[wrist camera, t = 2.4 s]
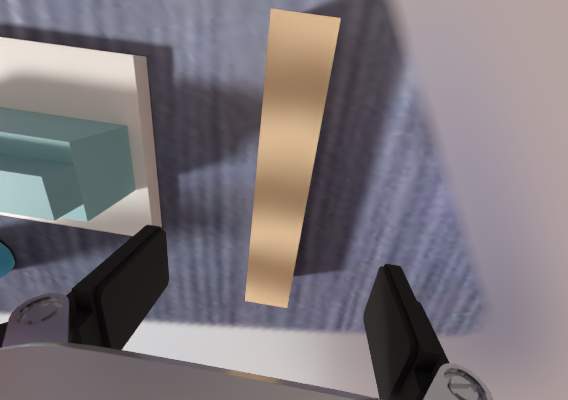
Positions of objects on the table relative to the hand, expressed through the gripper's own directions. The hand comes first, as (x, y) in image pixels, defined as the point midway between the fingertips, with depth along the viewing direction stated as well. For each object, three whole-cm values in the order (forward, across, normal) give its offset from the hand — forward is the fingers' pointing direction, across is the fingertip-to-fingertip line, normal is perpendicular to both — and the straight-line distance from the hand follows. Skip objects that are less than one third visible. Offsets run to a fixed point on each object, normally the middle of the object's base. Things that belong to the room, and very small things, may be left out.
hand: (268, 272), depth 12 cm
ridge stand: (+10, +18, -1) cm, 21 cm away
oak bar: (+11, 0, -1) cm, 11 cm away
